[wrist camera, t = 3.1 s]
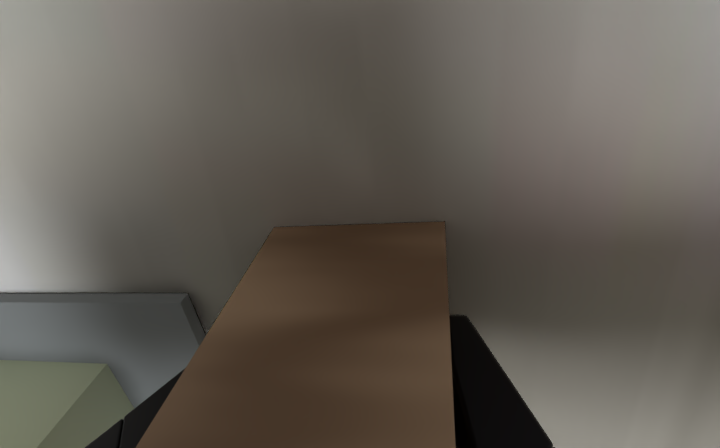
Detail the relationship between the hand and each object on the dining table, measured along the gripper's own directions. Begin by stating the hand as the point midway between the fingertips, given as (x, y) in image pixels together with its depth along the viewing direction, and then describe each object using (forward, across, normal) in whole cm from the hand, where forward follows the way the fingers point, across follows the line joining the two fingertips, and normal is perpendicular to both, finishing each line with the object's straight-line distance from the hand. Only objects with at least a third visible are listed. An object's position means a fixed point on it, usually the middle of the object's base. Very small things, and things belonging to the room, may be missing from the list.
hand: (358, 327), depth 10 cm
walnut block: (+1, 0, 0) cm, 1 cm away
